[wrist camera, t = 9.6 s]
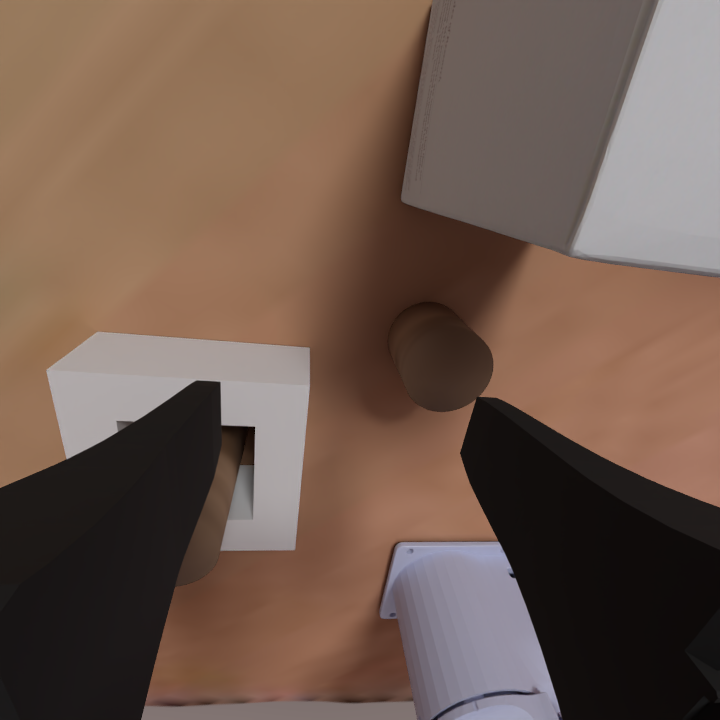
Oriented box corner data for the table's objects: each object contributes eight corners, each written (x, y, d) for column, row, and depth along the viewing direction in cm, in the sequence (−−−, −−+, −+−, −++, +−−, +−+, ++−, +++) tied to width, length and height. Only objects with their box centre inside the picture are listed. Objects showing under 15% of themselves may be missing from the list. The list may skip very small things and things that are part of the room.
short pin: (469, 305, 20) (504, 334, 17) (452, 374, 22) (480, 413, 18) (394, 298, 19) (414, 326, 16) (382, 369, 21) (397, 409, 18)
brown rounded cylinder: (249, 395, 21) (218, 511, 14) (247, 454, 22) (219, 586, 15) (169, 390, 20) (93, 510, 13) (174, 452, 22) (108, 588, 15)
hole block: (309, 347, 20) (309, 385, 16) (297, 494, 24) (294, 550, 21) (97, 331, 18) (46, 369, 15) (123, 491, 23) (88, 551, 19)
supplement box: (395, 204, 18) (551, 262, 6) (431, -8, 14) (869, -663, 3) (543, 226, 19) (901, 308, 7) (605, 34, 16) (1376, -325, 4)
